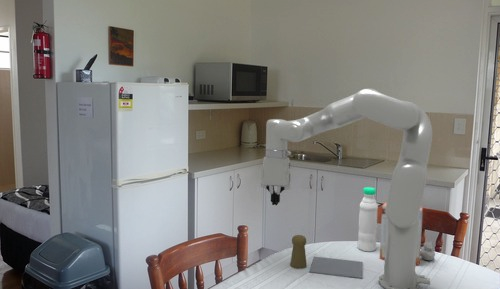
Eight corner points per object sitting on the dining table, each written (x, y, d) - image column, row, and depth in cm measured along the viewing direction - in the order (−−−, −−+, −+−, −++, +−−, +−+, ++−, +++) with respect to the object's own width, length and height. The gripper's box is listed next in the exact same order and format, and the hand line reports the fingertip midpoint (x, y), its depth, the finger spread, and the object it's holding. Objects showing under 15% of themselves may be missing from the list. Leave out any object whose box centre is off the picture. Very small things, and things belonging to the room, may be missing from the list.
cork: (306, 269, 151) (307, 239, 149) (289, 267, 152) (289, 238, 150) (307, 262, 157) (308, 234, 155) (290, 261, 158) (291, 232, 156)
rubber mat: (362, 262, 157) (362, 261, 157) (362, 278, 144) (362, 277, 144) (313, 257, 162) (313, 256, 162) (309, 272, 148) (309, 271, 148)
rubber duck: (424, 262, 158) (426, 242, 157) (415, 255, 164) (416, 236, 163) (438, 262, 159) (439, 241, 158) (428, 255, 165) (429, 235, 164)
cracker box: (420, 260, 160) (423, 206, 158) (418, 266, 155) (422, 210, 152) (381, 253, 166) (384, 201, 164) (379, 258, 161) (382, 205, 158)
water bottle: (357, 250, 169) (360, 189, 166) (357, 244, 175) (360, 185, 172) (375, 253, 167) (378, 190, 163) (375, 246, 173) (378, 186, 170)
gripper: (298, 153, 153) (297, 203, 155) (258, 151, 157) (257, 199, 159) (295, 156, 146) (294, 208, 148) (253, 154, 150) (252, 205, 152)
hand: (275, 204), depth 154 cm, fingers closed
